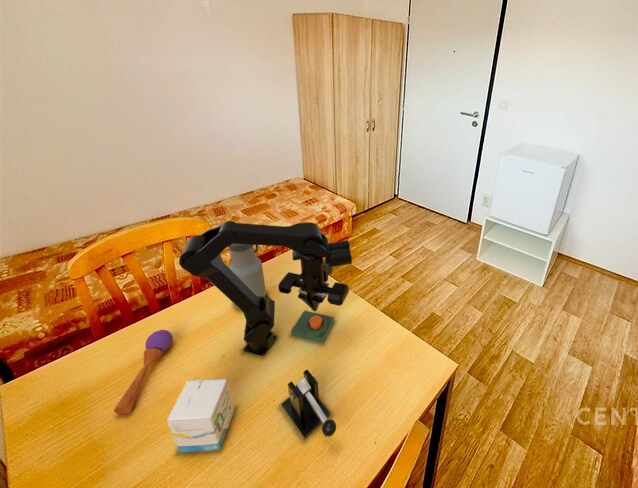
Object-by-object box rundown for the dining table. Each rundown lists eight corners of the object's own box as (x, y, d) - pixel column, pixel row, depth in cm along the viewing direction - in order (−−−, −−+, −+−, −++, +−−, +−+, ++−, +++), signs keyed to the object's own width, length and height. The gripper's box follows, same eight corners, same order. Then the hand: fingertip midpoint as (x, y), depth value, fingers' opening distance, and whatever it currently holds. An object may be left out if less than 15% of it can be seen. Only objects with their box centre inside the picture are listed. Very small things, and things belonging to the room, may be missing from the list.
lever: (338, 430, 69) (340, 426, 67) (326, 442, 66) (328, 437, 65) (305, 381, 74) (306, 375, 73) (293, 390, 72) (294, 384, 71)
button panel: (291, 336, 94) (290, 327, 92) (304, 315, 101) (304, 306, 99) (322, 344, 92) (322, 335, 90) (334, 322, 100) (333, 313, 98)
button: (307, 327, 93) (307, 323, 92) (313, 318, 96) (312, 314, 95) (318, 330, 92) (318, 326, 91) (324, 320, 95) (324, 316, 95)
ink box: (220, 450, 68) (210, 419, 63) (178, 453, 67) (164, 421, 62) (235, 408, 75) (227, 377, 70) (198, 410, 75) (186, 378, 69)
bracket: (330, 416, 75) (328, 387, 71) (304, 440, 71) (301, 411, 66) (307, 386, 81) (304, 358, 76) (281, 406, 76) (277, 378, 72)
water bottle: (241, 288, 109) (227, 219, 97) (270, 288, 111) (261, 220, 99) (229, 312, 100) (213, 238, 88) (261, 311, 102) (250, 239, 89)
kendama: (100, 407, 70) (148, 327, 87) (116, 419, 73) (159, 340, 90) (128, 401, 71) (170, 323, 88) (143, 413, 74) (180, 336, 91)
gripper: (355, 256, 90) (355, 296, 97) (295, 244, 94) (299, 284, 100) (340, 282, 81) (341, 325, 87) (274, 268, 84) (280, 311, 91)
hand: (315, 310), depth 92 cm, fingers closed
